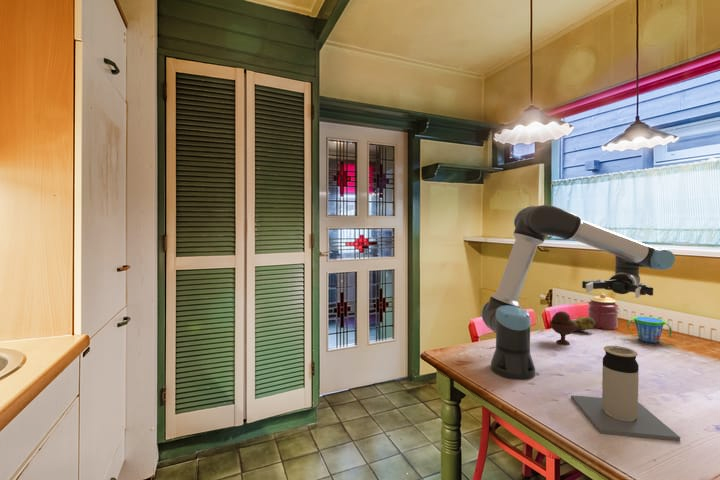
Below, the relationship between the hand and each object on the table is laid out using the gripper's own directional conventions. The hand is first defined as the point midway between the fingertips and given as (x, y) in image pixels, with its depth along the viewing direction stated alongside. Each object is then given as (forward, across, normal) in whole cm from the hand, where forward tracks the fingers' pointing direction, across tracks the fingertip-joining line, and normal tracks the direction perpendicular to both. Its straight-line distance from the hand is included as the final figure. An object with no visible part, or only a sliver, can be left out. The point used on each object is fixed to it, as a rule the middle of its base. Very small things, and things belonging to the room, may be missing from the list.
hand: (611, 291), depth 113 cm
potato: (-57, +22, -32) cm, 69 cm away
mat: (+23, -6, -32) cm, 40 cm away
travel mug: (+23, -6, -31) cm, 39 cm away
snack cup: (-64, -4, -32) cm, 71 cm away
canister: (-76, +16, -32) cm, 84 cm away
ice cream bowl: (-32, +23, -32) cm, 51 cm away
